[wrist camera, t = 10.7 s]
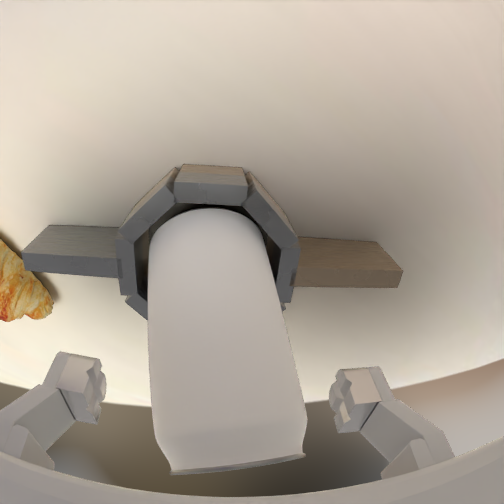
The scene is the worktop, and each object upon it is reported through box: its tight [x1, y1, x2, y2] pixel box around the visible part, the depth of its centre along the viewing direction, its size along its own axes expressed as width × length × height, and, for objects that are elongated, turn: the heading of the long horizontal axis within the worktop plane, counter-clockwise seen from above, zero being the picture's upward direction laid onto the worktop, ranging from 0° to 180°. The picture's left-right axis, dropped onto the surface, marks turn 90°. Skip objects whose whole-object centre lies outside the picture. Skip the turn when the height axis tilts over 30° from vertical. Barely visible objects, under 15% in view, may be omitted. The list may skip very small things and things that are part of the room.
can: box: [148, 207, 307, 475], centre depth 15 cm, size 6×6×12 cm
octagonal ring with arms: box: [130, 164, 403, 288], centre depth 19 cm, size 16×10×4 cm, turn 84°
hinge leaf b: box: [21, 172, 301, 320], centre depth 18 cm, size 16×10×4 cm, turn 84°
